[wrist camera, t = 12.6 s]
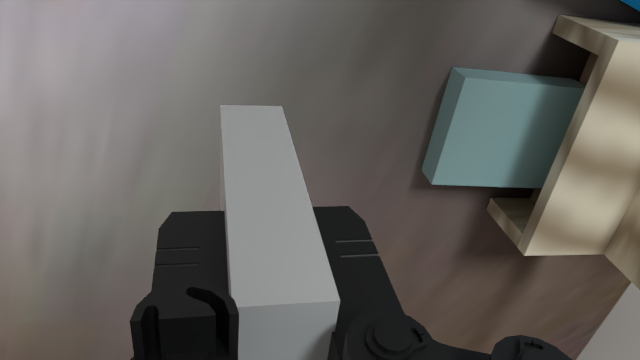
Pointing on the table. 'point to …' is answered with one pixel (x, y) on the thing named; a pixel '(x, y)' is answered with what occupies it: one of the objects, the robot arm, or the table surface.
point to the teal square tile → (499, 128)
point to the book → (633, 3)
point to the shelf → (590, 159)
